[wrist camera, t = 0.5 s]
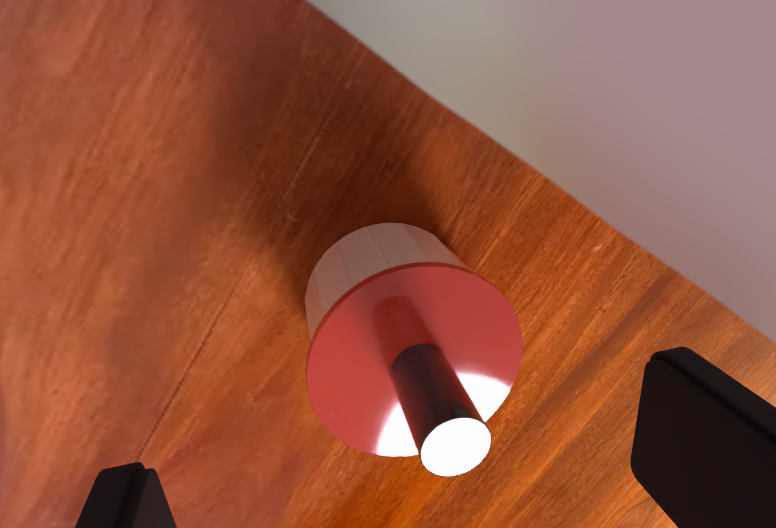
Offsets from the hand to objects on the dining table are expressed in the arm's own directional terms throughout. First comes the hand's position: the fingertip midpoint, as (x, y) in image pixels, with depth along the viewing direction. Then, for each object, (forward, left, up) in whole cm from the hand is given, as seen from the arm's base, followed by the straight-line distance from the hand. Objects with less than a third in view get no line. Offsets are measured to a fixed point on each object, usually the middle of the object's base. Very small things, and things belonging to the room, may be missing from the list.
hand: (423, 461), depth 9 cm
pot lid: (+7, +3, -14) cm, 16 cm away
